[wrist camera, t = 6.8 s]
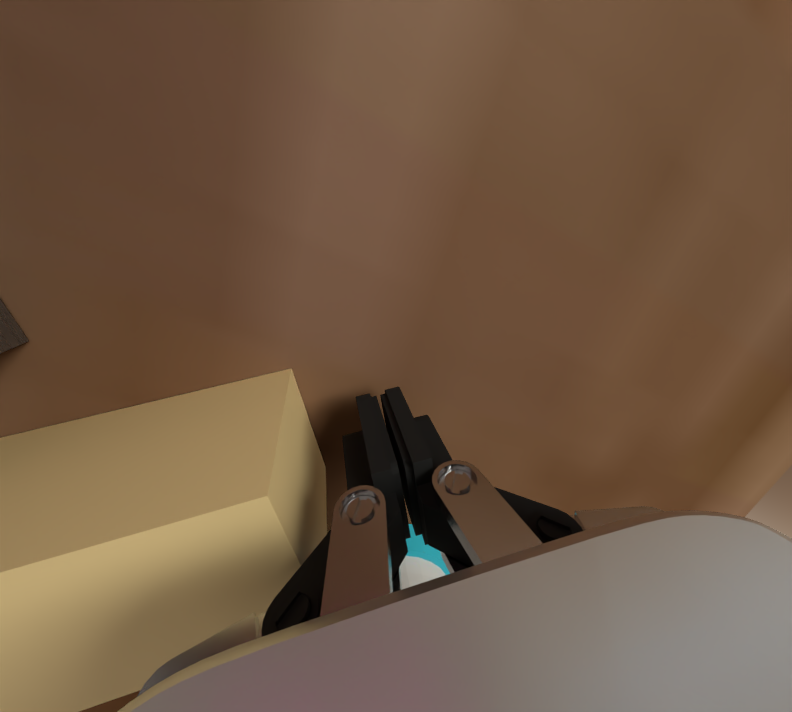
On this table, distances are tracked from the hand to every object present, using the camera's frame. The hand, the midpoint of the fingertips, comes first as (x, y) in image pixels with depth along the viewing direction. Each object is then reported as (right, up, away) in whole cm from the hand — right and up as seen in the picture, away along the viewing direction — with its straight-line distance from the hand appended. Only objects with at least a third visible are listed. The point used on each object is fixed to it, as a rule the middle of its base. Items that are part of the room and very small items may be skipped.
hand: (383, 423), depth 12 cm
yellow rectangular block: (-9, -1, 0) cm, 9 cm away
